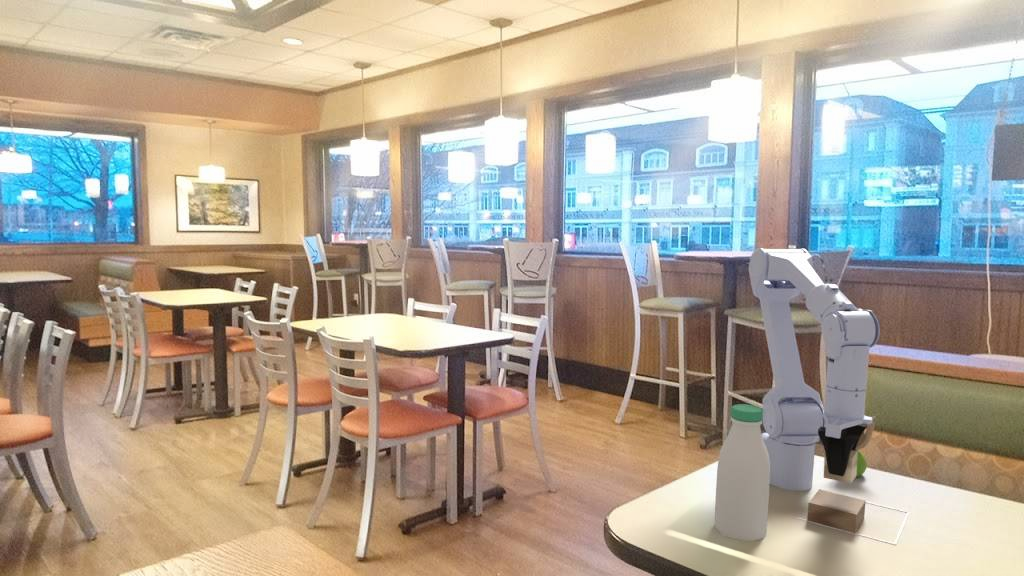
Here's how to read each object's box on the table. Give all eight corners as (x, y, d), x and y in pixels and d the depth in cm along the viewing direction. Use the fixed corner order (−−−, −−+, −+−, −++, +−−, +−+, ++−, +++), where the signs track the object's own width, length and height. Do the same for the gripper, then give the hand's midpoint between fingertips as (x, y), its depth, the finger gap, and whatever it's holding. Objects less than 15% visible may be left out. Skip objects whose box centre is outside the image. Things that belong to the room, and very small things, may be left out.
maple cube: (823, 477, 110) (824, 453, 109) (829, 470, 113) (830, 446, 112) (851, 483, 107) (852, 458, 107) (856, 475, 110) (857, 451, 110)
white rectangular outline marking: (793, 522, 111) (793, 518, 111) (816, 492, 123) (816, 488, 123) (898, 551, 102) (898, 546, 102) (912, 516, 114) (913, 512, 114)
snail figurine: (875, 484, 127) (880, 421, 126) (837, 480, 128) (842, 418, 127) (866, 473, 133) (871, 412, 131) (830, 470, 134) (834, 409, 132)
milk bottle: (776, 543, 104) (784, 414, 102) (728, 546, 103) (735, 415, 101) (750, 520, 112) (757, 399, 109) (705, 523, 110) (711, 401, 108)
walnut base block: (807, 520, 110) (808, 502, 110) (818, 506, 116) (819, 489, 116) (855, 533, 106) (856, 514, 106) (864, 518, 112) (865, 500, 111)
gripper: (864, 401, 100) (857, 490, 102) (882, 381, 112) (876, 462, 113) (813, 392, 104) (807, 479, 106) (835, 374, 116) (829, 453, 118)
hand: (839, 470), depth 110 cm, fingers closed on maple cube, 4 cm apart
